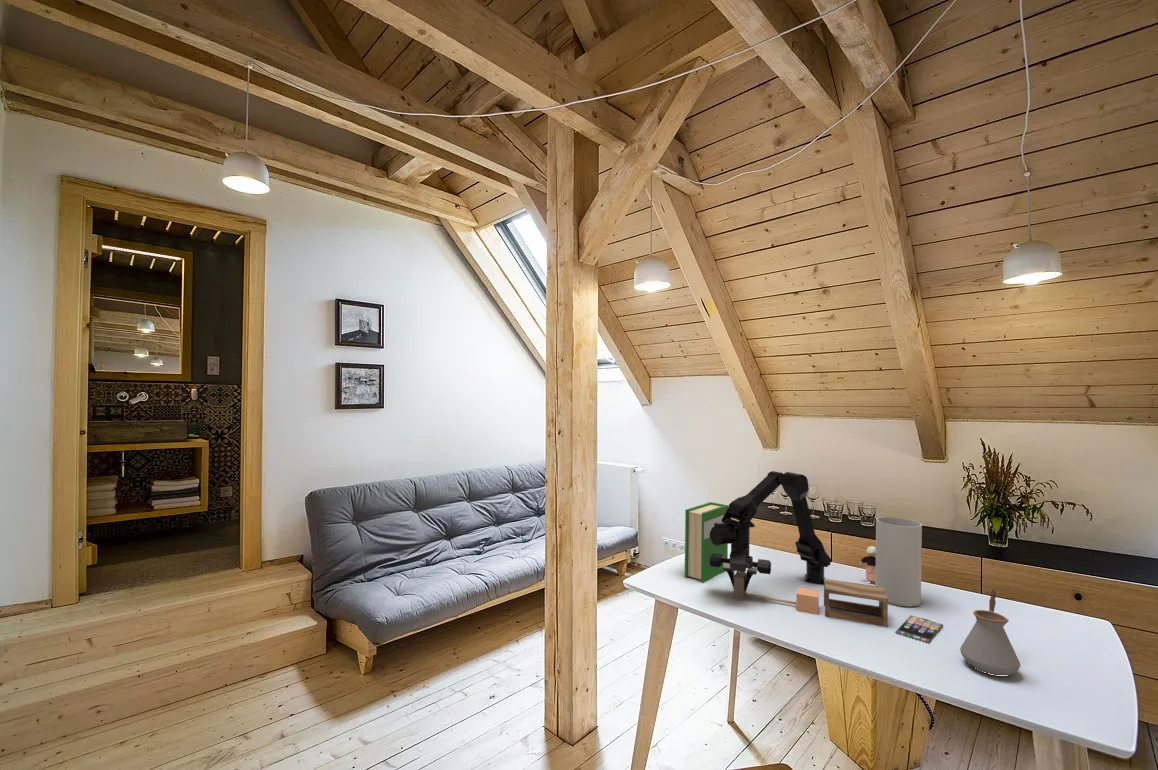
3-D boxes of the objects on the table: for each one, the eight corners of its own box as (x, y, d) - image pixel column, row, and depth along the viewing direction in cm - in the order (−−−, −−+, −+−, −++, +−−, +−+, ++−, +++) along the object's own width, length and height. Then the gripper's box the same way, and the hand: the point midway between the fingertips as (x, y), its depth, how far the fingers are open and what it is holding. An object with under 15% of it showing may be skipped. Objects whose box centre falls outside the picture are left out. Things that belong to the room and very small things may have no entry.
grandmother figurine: (883, 582, 181) (883, 546, 181) (884, 586, 178) (885, 549, 178) (858, 579, 184) (858, 543, 185) (859, 582, 181) (859, 546, 181)
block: (736, 592, 171) (736, 570, 171) (818, 606, 160) (818, 584, 160) (733, 598, 166) (733, 576, 166) (818, 614, 155) (818, 590, 155)
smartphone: (894, 634, 144) (894, 630, 144) (910, 618, 154) (910, 614, 154) (928, 645, 138) (928, 641, 138) (943, 628, 148) (943, 624, 148)
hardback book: (703, 583, 179) (704, 513, 179) (684, 577, 184) (685, 509, 184) (727, 570, 192) (728, 505, 192) (709, 565, 197) (710, 502, 197)
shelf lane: (823, 604, 162) (824, 578, 162) (882, 613, 156) (882, 587, 156) (825, 616, 154) (825, 589, 154) (887, 626, 147) (887, 598, 147)
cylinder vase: (878, 603, 163) (879, 524, 163) (872, 589, 175) (873, 515, 175) (925, 610, 159) (926, 528, 159) (916, 595, 170) (916, 519, 170)
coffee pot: (1019, 687, 118) (1020, 621, 118) (957, 669, 125) (957, 607, 126) (1022, 652, 134) (1022, 594, 134) (966, 638, 141) (967, 582, 141)
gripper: (706, 544, 164) (706, 594, 164) (769, 552, 157) (769, 604, 157) (712, 535, 174) (711, 582, 174) (771, 542, 167) (771, 591, 167)
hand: (739, 589), depth 168 cm, fingers closed on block, 3 cm apart
